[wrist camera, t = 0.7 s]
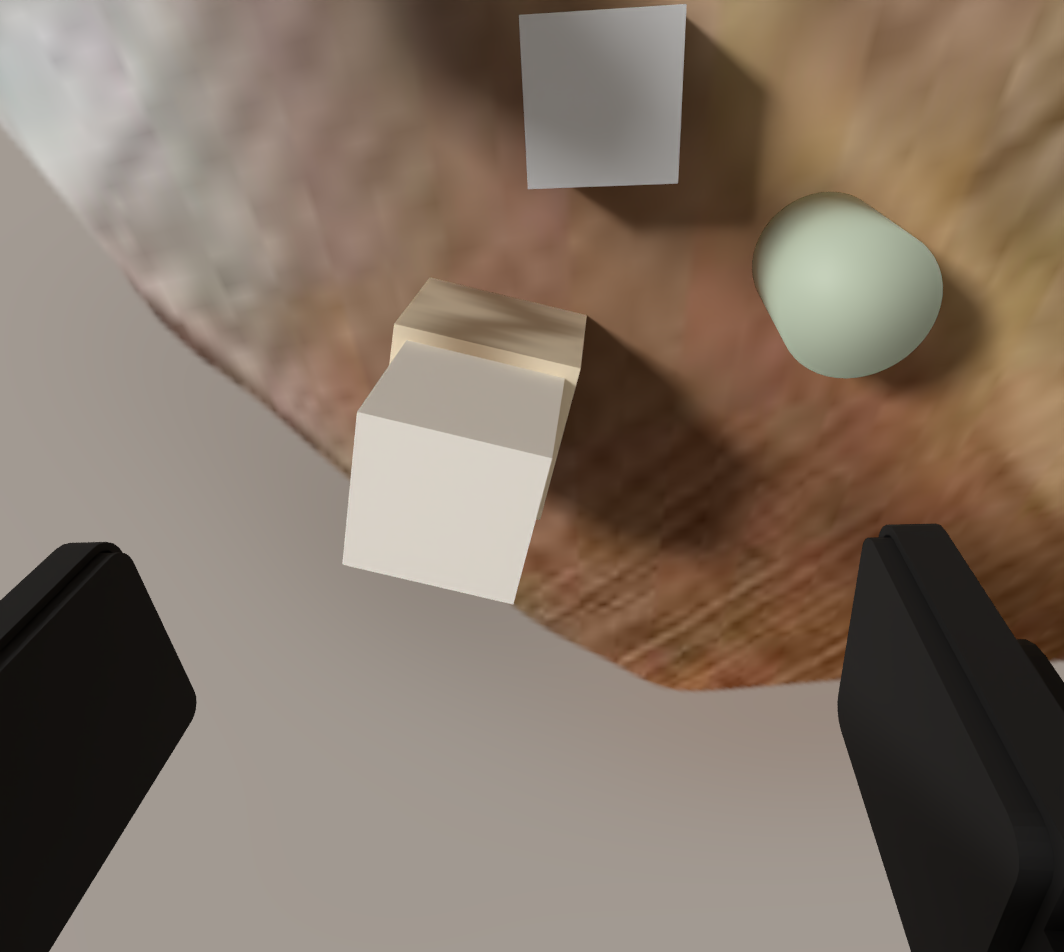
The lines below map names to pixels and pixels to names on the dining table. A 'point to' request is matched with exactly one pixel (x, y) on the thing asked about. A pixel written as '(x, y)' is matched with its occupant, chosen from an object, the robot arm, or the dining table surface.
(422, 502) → the tower top
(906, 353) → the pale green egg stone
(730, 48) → the dining table surface
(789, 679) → the dining table surface
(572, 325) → the tower base
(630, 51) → the grey cube
